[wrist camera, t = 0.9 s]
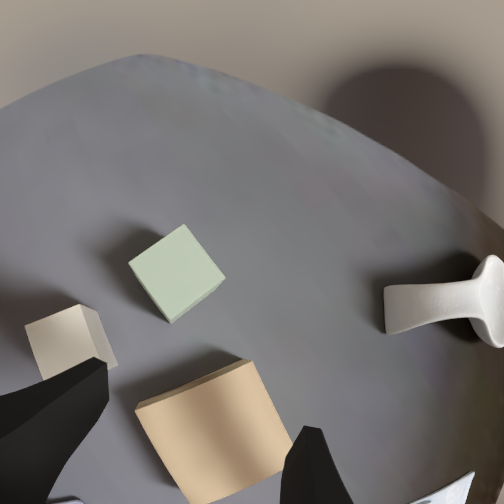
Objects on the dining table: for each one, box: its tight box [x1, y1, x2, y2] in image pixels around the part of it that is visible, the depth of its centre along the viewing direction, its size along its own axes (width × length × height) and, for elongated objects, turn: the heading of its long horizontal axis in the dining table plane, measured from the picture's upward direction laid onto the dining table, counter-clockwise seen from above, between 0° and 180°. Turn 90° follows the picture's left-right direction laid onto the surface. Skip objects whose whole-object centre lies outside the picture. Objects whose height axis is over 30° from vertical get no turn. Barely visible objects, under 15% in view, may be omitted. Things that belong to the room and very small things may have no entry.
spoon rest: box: [384, 255, 504, 348], centre depth 28 cm, size 24×12×7 cm, turn 91°
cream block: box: [25, 304, 118, 380], centre depth 19 cm, size 4×4×5 cm
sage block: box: [129, 224, 225, 324], centre depth 22 cm, size 4×4×5 cm
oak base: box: [135, 359, 293, 504], centre depth 20 cm, size 9×9×3 cm
